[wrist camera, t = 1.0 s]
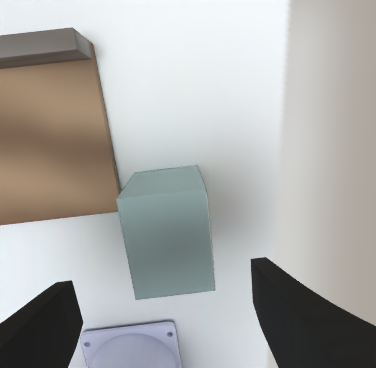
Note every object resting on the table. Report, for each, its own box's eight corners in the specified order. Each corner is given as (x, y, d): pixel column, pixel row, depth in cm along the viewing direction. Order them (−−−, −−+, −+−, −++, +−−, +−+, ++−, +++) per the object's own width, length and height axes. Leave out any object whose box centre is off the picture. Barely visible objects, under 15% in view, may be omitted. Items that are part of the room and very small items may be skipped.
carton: (147, 246, 20) (135, 299, 15) (135, 172, 19) (116, 199, 13) (206, 239, 20) (217, 290, 15) (198, 165, 19) (208, 188, 13)
